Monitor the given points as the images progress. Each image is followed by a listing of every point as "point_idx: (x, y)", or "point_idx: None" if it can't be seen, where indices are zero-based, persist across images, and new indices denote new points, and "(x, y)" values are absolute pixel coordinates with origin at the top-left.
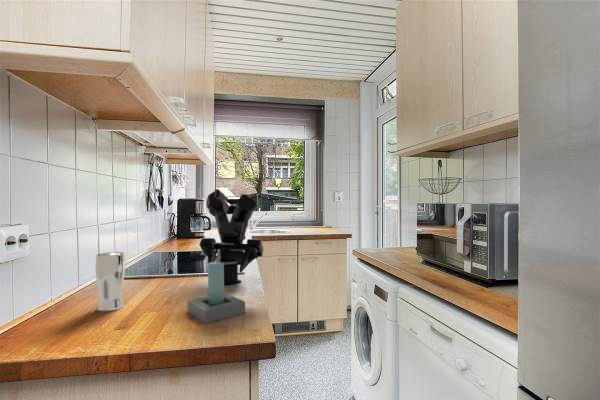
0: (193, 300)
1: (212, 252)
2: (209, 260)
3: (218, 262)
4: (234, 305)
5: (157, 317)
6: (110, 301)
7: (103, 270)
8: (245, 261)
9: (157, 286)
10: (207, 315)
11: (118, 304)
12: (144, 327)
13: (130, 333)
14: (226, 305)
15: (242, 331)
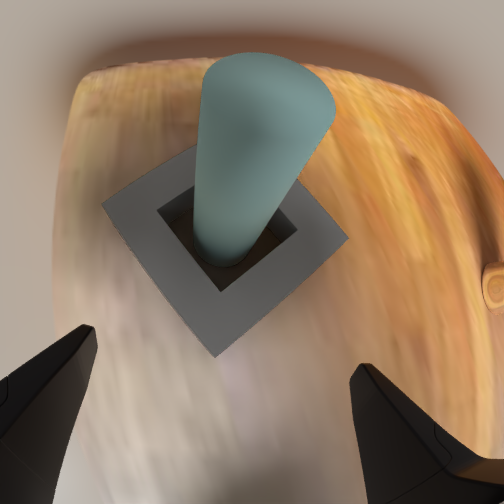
0: (327, 235)
1: (445, 482)
2: (414, 413)
3: (261, 115)
4: (143, 178)
5: (387, 212)
6: (501, 263)
7: None
8: (17, 376)
9: None
10: None
11: (490, 278)
12: (375, 153)
13: (380, 131)
14: (173, 164)
15: (127, 104)
